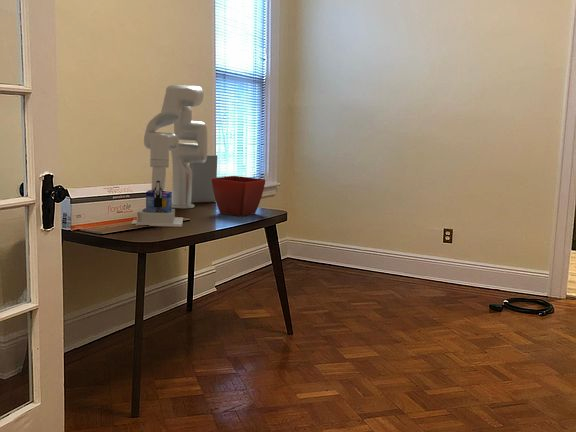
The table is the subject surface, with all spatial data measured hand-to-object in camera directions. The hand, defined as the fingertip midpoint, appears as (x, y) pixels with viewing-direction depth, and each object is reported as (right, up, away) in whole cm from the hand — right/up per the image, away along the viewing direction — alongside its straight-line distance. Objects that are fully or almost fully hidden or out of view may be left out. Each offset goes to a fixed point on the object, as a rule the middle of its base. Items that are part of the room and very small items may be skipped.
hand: (158, 205), depth 243 cm
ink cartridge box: (0, -6, +1) cm, 6 cm away
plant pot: (+30, -3, +35) cm, 46 cm away
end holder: (0, -7, +1) cm, 7 cm away
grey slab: (+8, +3, +66) cm, 67 cm away
